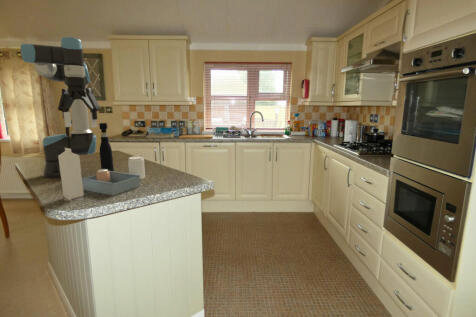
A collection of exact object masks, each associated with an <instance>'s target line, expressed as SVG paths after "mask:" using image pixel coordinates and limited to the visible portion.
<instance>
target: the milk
mask: <svg viewBox="0 0 476 317" xmlns="http://www.w3.org/2000/svg"><path fill="white" fill-rule="evenodd" d="M58 158H59V166H60V173H61V177H60V180H61V186H62V188H61V189H62V194H63V198H64V199H65V198H66V199H65V200H67V199H68V200H67V201H69V200H70V201H73V199H76V198H81V197H84V195H85V194H84V190H83V184H82V178H83V177H82V169H81V160H80V159H81V158H80V155H77V154H74V153H72V152H71V149H69V148H65V152H63V153H62V154H60V155H59V156H58Z"/></svg>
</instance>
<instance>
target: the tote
mask: <svg viewBox="0 0 476 317" xmlns="http://www.w3.org/2000/svg"><path fill="white" fill-rule="evenodd" d="M109 172H110V182H104V181H98V180H97V178H96V174H94V175H90V176H86V177H82V184H83V191H88V192H93V193H98V194H102V195H108V196H113V197H114V196H116V195H119V194H122V193H125V192H127V191H131V190H133V189H136V188H138V187H141V182H140V180H141V179H140V178H139V177H140V175H135V174H129V172H128V173H126V172H120V171H115V170H114V171H109Z"/></svg>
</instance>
